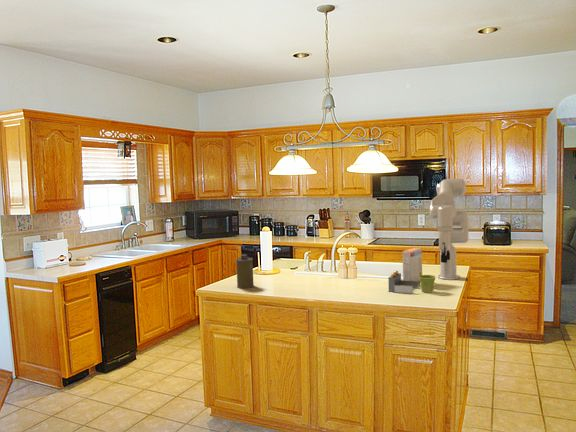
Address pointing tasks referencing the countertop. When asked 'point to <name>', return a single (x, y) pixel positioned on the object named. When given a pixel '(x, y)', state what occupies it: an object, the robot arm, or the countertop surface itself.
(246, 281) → the canister
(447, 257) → the robot arm
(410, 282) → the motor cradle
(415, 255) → the cracker box
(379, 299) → the countertop surface
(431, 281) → the plant pot
